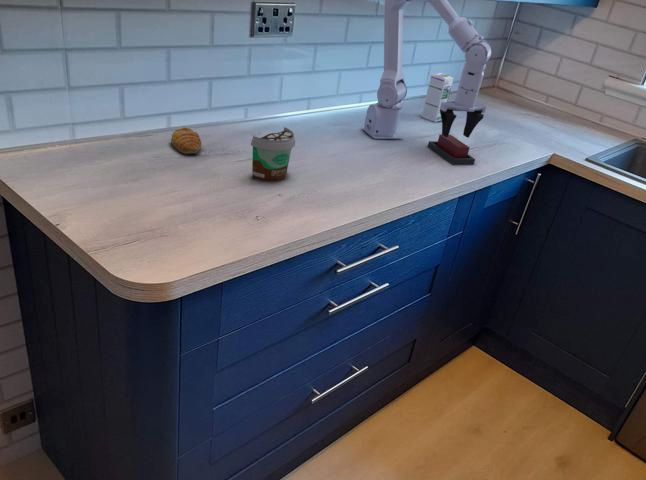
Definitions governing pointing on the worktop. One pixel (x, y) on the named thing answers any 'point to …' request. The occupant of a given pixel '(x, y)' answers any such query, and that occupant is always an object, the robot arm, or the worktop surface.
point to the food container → (272, 155)
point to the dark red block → (453, 146)
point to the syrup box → (436, 96)
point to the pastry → (186, 140)
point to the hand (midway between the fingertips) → (455, 136)
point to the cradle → (448, 157)
